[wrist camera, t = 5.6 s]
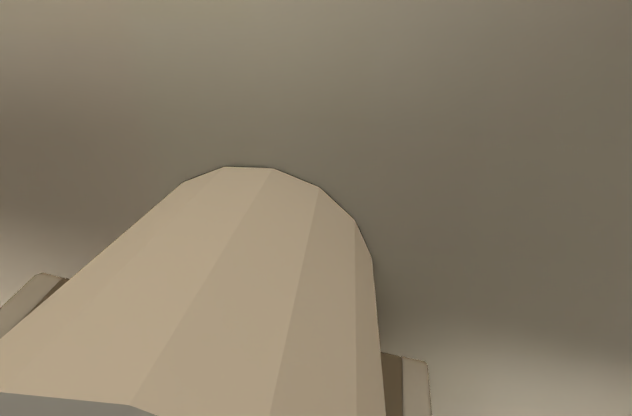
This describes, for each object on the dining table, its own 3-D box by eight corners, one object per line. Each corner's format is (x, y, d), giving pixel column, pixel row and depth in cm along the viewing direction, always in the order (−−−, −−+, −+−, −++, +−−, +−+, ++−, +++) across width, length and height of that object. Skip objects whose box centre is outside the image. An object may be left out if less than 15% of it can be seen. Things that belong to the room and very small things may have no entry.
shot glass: (194, 75, 10) (-95, 283, 4) (462, 248, 11) (537, 613, 5) (86, 289, 14) (-165, 581, 7) (303, 408, 15) (237, 749, 9)
